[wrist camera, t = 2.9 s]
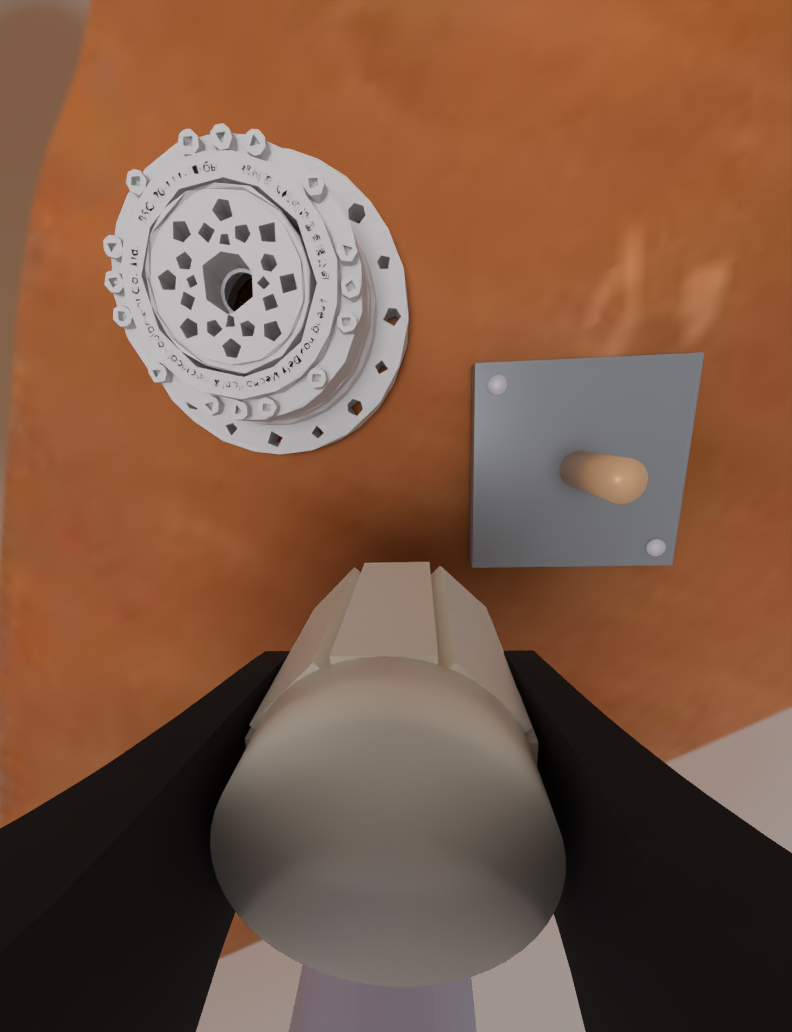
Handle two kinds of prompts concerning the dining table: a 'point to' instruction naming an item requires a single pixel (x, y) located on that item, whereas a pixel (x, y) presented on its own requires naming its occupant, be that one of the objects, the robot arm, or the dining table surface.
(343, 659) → the wire nut
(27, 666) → the dining table surface
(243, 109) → the dining table surface
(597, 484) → the plate
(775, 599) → the dining table surface
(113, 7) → the dining table surface
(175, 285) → the mechanical component
